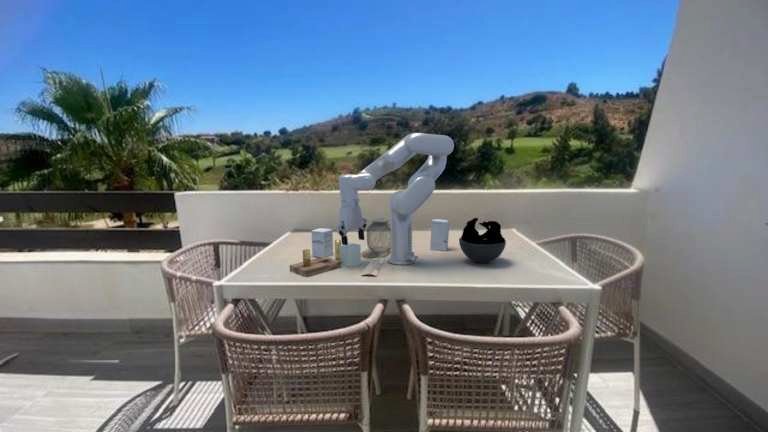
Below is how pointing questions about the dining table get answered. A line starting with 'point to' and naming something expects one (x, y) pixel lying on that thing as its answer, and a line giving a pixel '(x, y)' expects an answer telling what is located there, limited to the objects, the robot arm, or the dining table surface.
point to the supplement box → (322, 242)
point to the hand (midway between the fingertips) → (353, 242)
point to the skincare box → (439, 234)
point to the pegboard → (314, 265)
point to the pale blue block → (350, 254)
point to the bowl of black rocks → (482, 241)
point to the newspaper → (374, 266)
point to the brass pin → (337, 249)
